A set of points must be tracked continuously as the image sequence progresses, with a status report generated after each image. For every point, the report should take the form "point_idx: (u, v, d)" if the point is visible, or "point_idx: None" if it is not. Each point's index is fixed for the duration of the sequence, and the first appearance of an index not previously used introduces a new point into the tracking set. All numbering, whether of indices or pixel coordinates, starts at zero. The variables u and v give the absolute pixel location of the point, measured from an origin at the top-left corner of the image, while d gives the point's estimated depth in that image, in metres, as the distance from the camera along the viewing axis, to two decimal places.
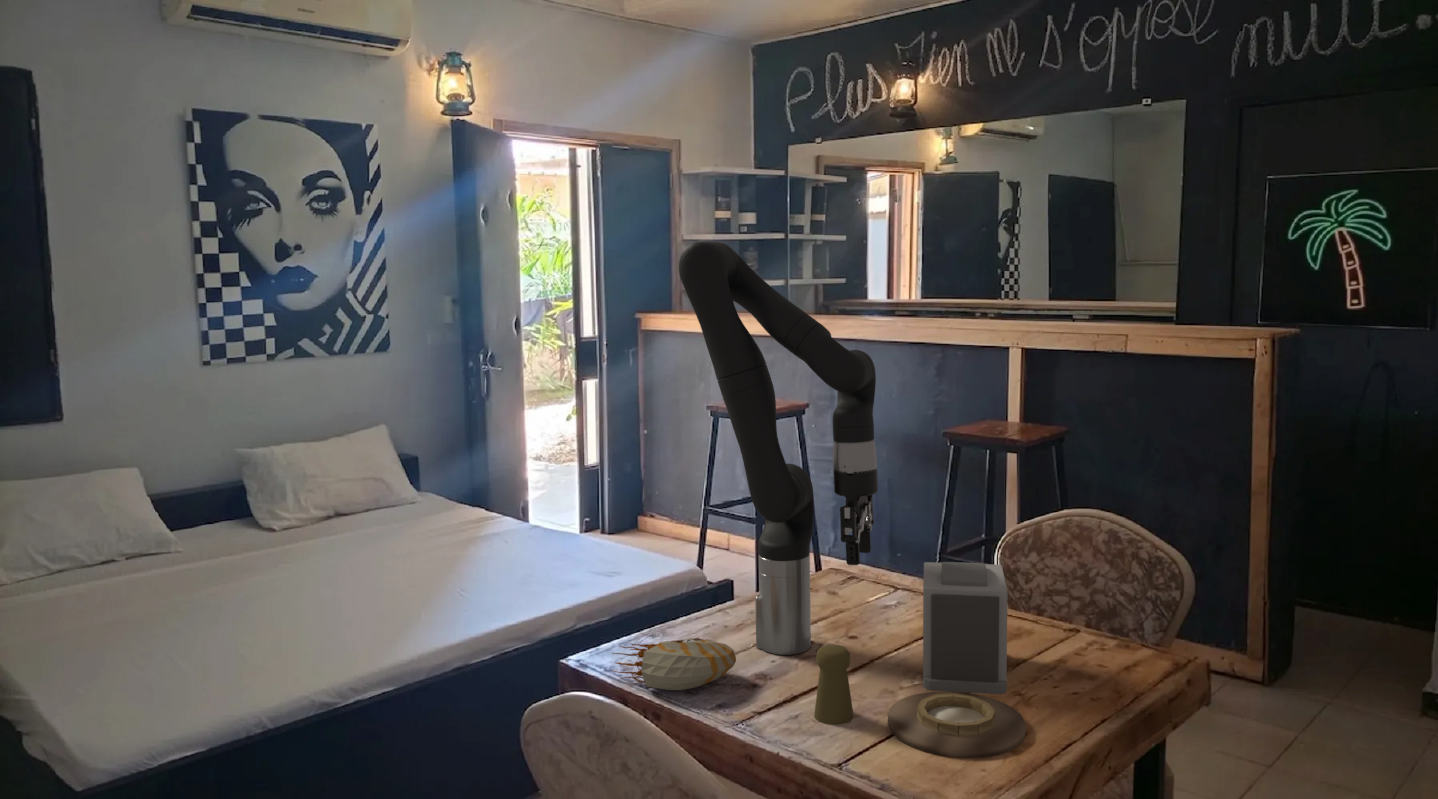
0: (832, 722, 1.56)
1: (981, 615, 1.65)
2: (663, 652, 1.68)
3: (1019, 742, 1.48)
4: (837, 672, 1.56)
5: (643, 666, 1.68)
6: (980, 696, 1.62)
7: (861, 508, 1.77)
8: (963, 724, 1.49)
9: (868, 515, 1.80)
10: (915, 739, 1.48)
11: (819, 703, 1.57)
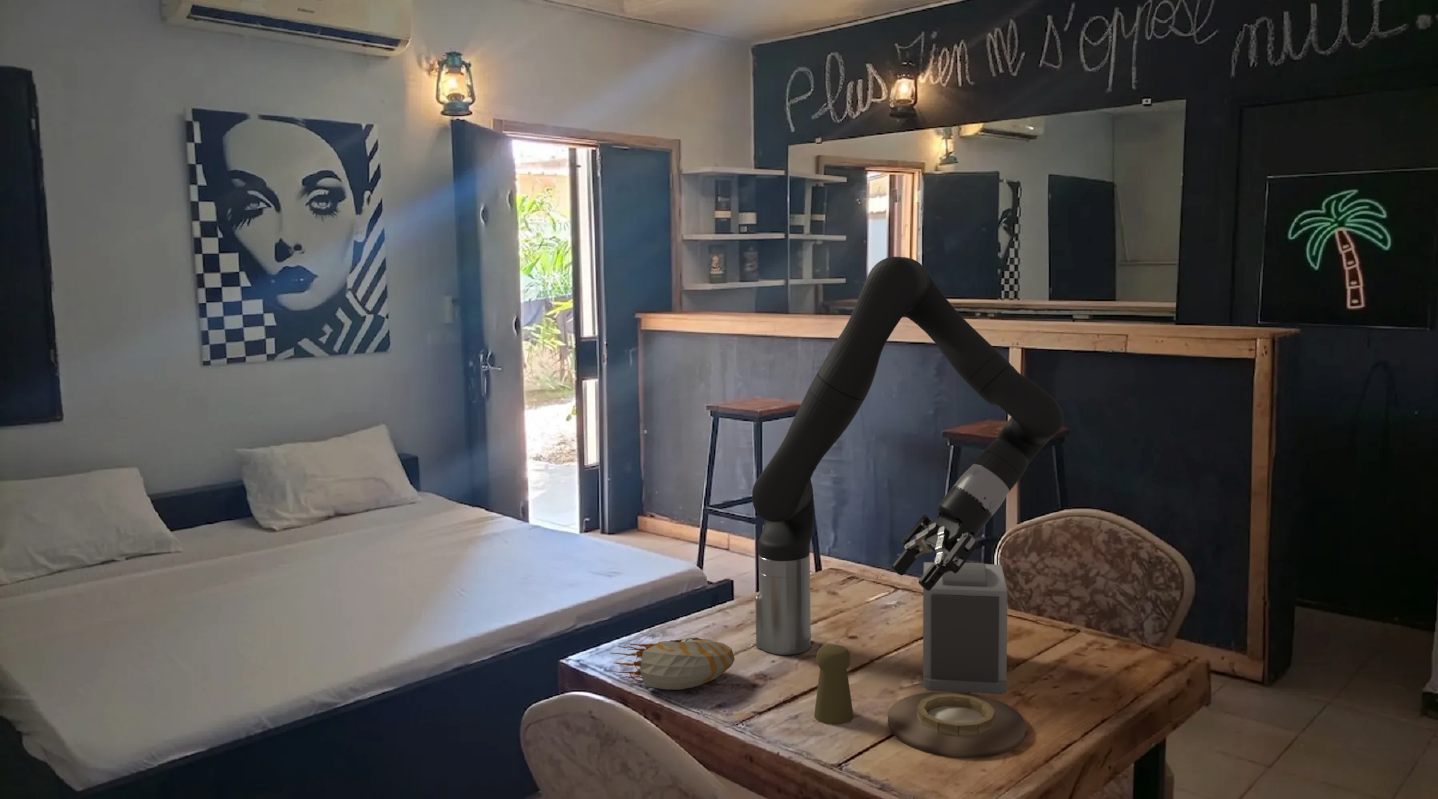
0: (832, 722, 1.56)
1: (981, 615, 1.65)
2: (662, 651, 1.68)
3: (1019, 742, 1.48)
4: (837, 672, 1.56)
5: (642, 666, 1.69)
6: (980, 696, 1.62)
7: None
8: (963, 724, 1.49)
9: None
10: (915, 739, 1.48)
11: (819, 703, 1.57)
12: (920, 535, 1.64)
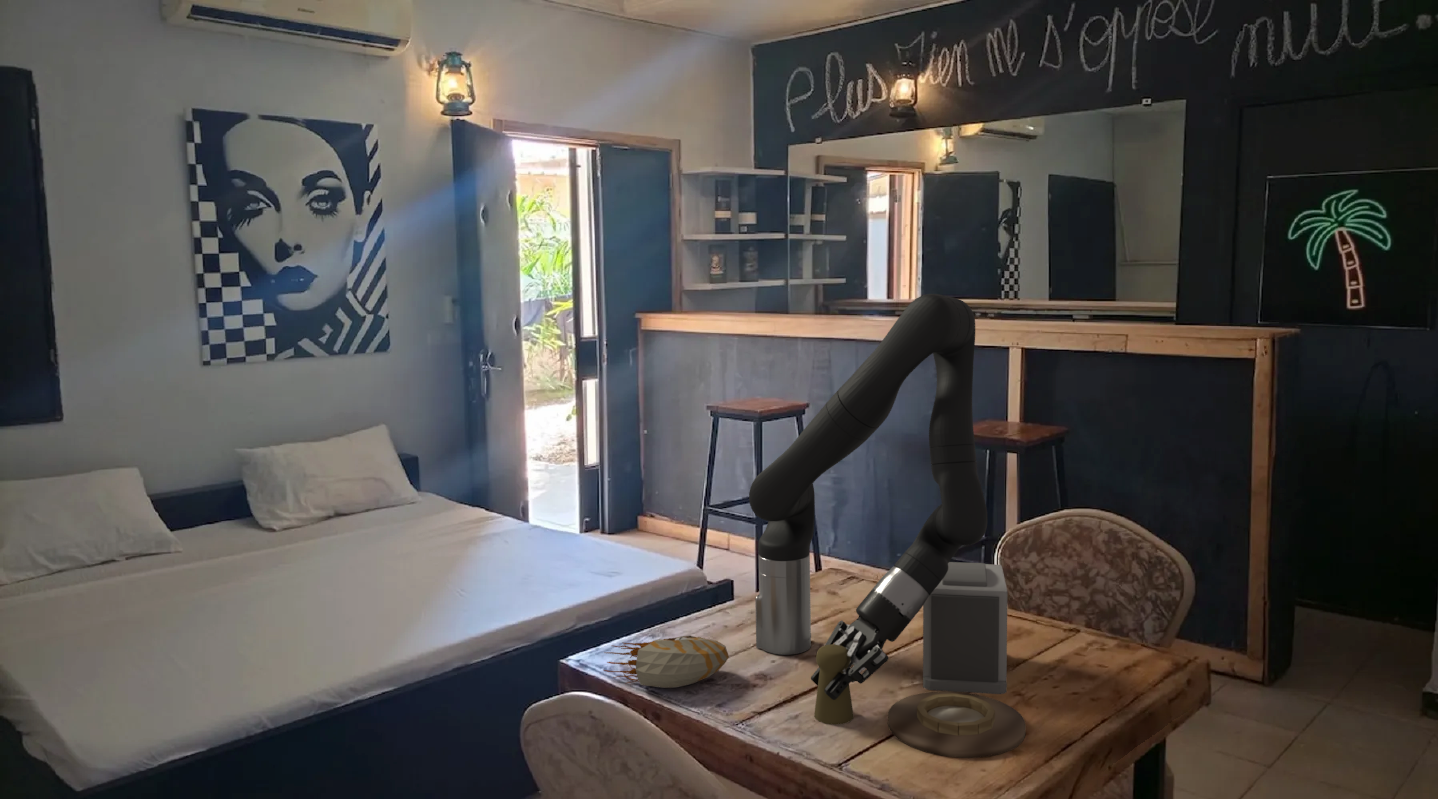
0: (832, 722, 1.56)
1: (981, 615, 1.65)
2: (657, 650, 1.69)
3: (1019, 742, 1.48)
4: (837, 672, 1.56)
5: (637, 664, 1.69)
6: (980, 696, 1.62)
7: None
8: (963, 724, 1.49)
9: None
10: (915, 739, 1.48)
11: (819, 702, 1.57)
12: (840, 642, 1.60)
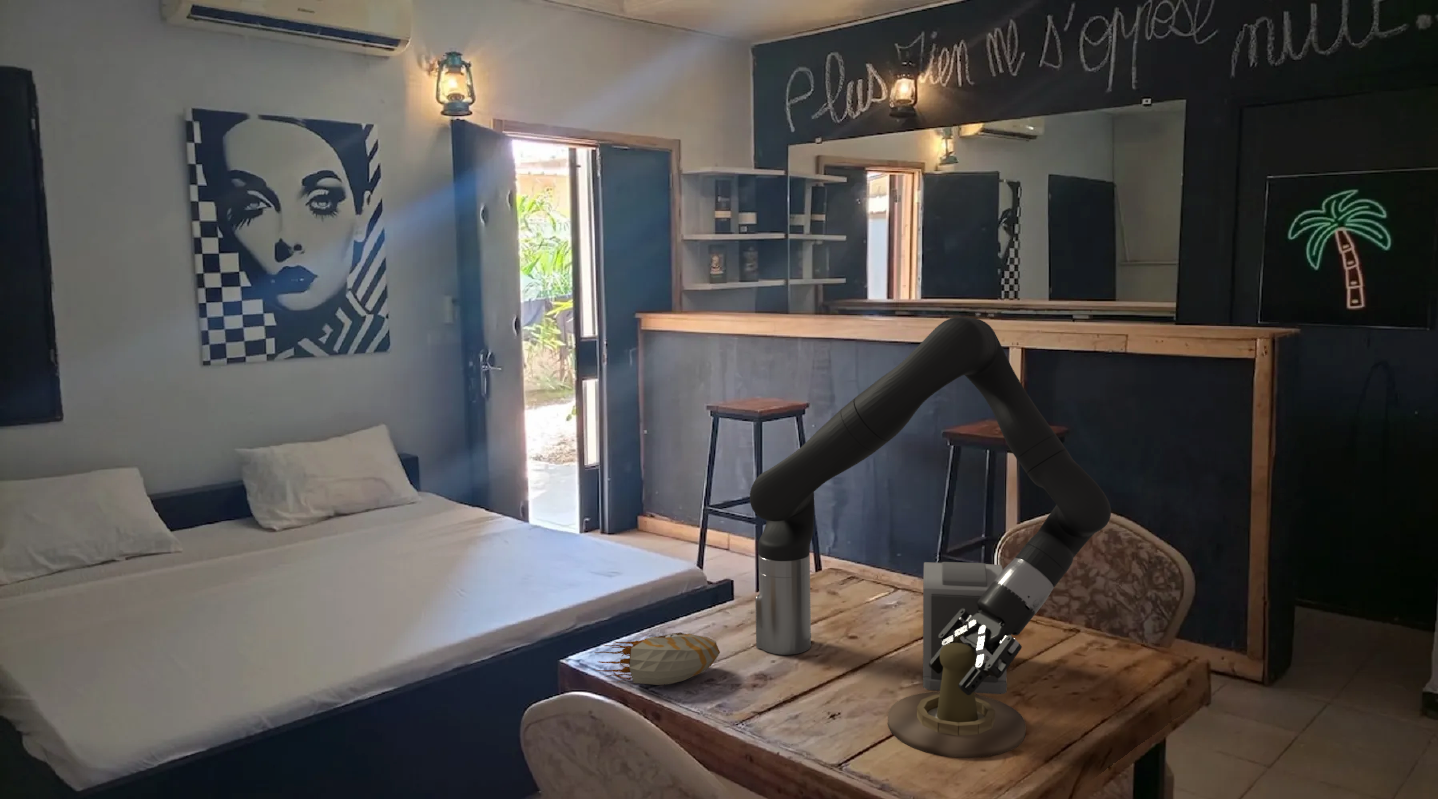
0: None
1: None
2: (651, 647, 1.70)
3: (1019, 742, 1.48)
4: (963, 672, 1.52)
5: (631, 663, 1.70)
6: (980, 696, 1.62)
7: None
8: (963, 724, 1.49)
9: None
10: (915, 739, 1.48)
11: (943, 703, 1.53)
12: (959, 632, 1.56)
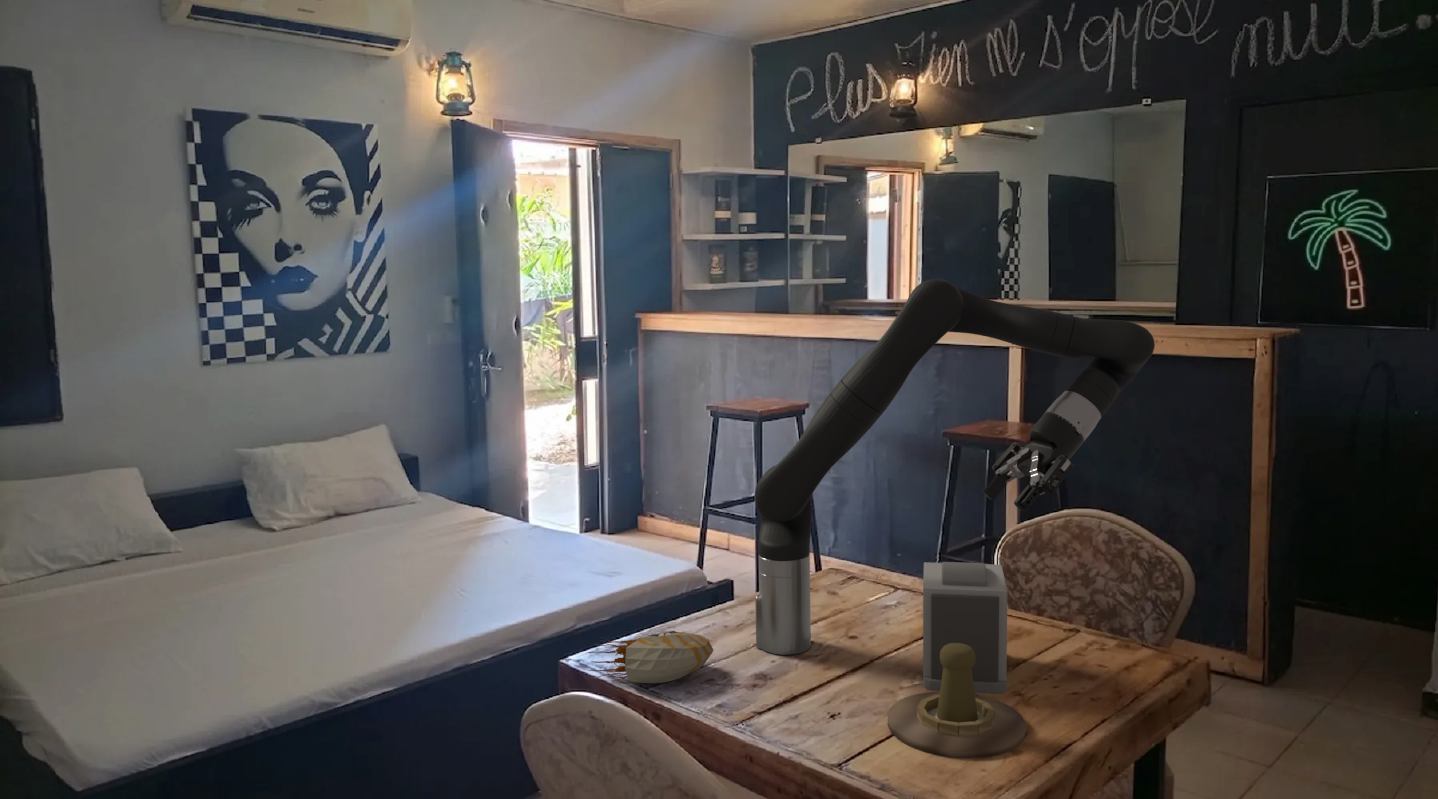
0: None
1: (981, 615, 1.65)
2: (646, 646, 1.71)
3: (1019, 742, 1.48)
4: (963, 672, 1.52)
5: (627, 662, 1.70)
6: (980, 696, 1.62)
7: None
8: (963, 724, 1.49)
9: None
10: (915, 739, 1.48)
11: (943, 703, 1.53)
12: (1013, 460, 1.67)
